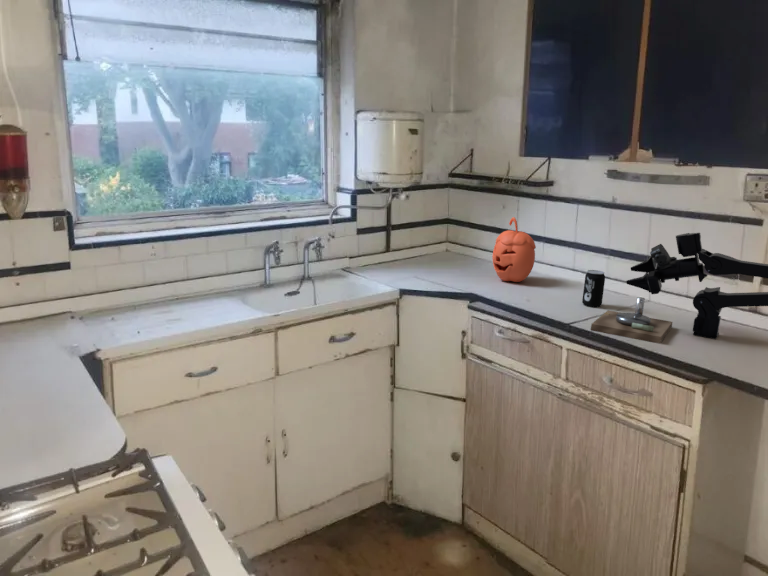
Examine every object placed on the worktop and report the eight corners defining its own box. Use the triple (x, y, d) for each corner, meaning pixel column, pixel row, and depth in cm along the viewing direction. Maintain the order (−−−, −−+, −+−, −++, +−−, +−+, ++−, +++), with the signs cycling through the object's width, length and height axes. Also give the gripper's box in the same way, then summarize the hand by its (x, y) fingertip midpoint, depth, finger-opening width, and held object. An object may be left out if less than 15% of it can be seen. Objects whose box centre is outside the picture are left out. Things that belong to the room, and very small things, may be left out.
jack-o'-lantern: (480, 277, 271) (485, 215, 265) (511, 274, 281) (517, 214, 275) (512, 287, 257) (518, 222, 251) (544, 283, 266) (551, 220, 260)
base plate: (671, 327, 213) (673, 316, 213) (659, 343, 197) (661, 331, 196) (607, 316, 223) (608, 305, 222) (590, 330, 207) (592, 318, 206)
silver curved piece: (646, 328, 203) (649, 309, 201) (612, 322, 208) (614, 303, 206) (655, 318, 215) (658, 300, 213) (623, 312, 220) (625, 294, 218)
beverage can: (602, 308, 233) (606, 274, 230) (582, 306, 234) (586, 272, 231) (600, 304, 239) (604, 270, 236) (581, 302, 240) (585, 269, 237)
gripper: (678, 232, 212) (627, 240, 221) (672, 258, 198) (618, 266, 206) (685, 263, 216) (634, 270, 224) (680, 291, 202) (626, 298, 210)
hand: (628, 275), depth 216 cm, fingers open, 9 cm apart
